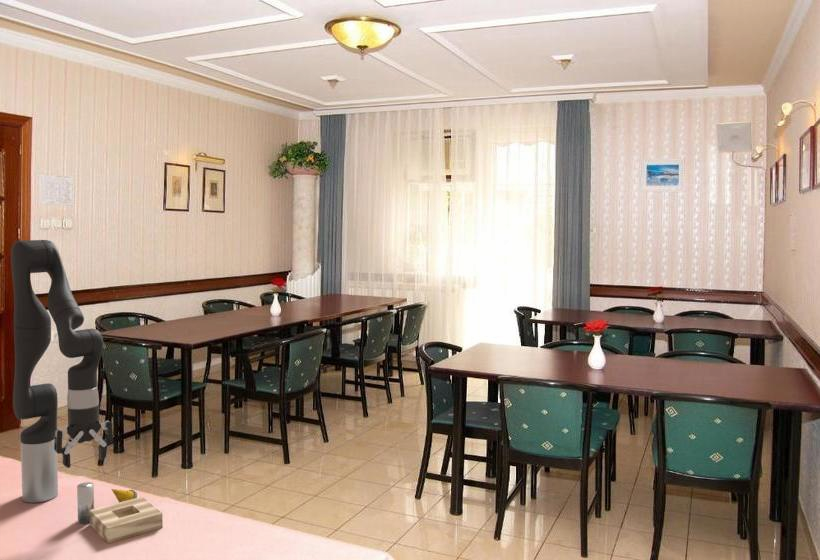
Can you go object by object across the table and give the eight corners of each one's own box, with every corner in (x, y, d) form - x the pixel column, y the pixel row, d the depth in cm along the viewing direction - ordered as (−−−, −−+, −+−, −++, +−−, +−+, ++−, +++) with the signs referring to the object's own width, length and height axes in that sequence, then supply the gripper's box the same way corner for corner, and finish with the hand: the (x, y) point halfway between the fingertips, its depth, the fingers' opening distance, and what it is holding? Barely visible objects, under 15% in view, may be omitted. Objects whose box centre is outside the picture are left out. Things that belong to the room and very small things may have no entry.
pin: (76, 520, 185) (75, 484, 184) (91, 516, 188) (90, 481, 187) (80, 525, 182) (79, 489, 181) (96, 521, 185) (95, 485, 184)
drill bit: (142, 510, 193) (117, 494, 187) (126, 515, 195) (101, 500, 188) (145, 493, 197) (121, 477, 191) (130, 499, 199) (106, 483, 192)
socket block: (89, 524, 183) (89, 510, 182) (142, 510, 192) (142, 496, 192) (108, 543, 172) (107, 528, 172) (162, 527, 182) (162, 513, 181)
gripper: (106, 397, 190) (107, 454, 191) (50, 405, 180) (51, 465, 181) (115, 402, 184) (117, 461, 185) (58, 411, 174) (60, 473, 176)
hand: (84, 463), depth 183 cm, fingers open, 8 cm apart
